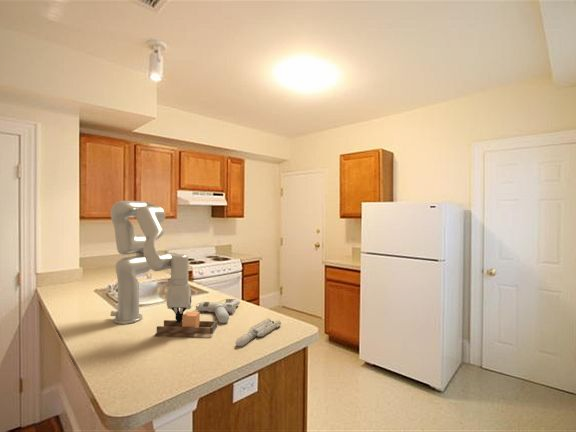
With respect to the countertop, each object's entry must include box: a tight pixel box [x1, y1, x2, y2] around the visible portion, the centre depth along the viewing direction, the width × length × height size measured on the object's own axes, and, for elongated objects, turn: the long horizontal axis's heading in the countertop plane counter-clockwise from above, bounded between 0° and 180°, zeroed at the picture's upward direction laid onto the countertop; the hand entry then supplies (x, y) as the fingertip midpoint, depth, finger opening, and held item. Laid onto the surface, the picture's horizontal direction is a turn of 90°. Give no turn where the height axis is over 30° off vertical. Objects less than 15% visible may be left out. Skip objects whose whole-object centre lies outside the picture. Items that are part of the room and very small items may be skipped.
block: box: [182, 311, 201, 327], centre depth 141 cm, size 6×6×7 cm
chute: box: [154, 319, 219, 338], centre depth 141 cm, size 25×12×4 cm, turn 89°
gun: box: [195, 298, 241, 324], centre depth 167 cm, size 6×29×30 cm
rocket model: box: [235, 318, 282, 347], centre depth 139 cm, size 9×4×30 cm
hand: (179, 321), depth 141 cm, fingers closed
